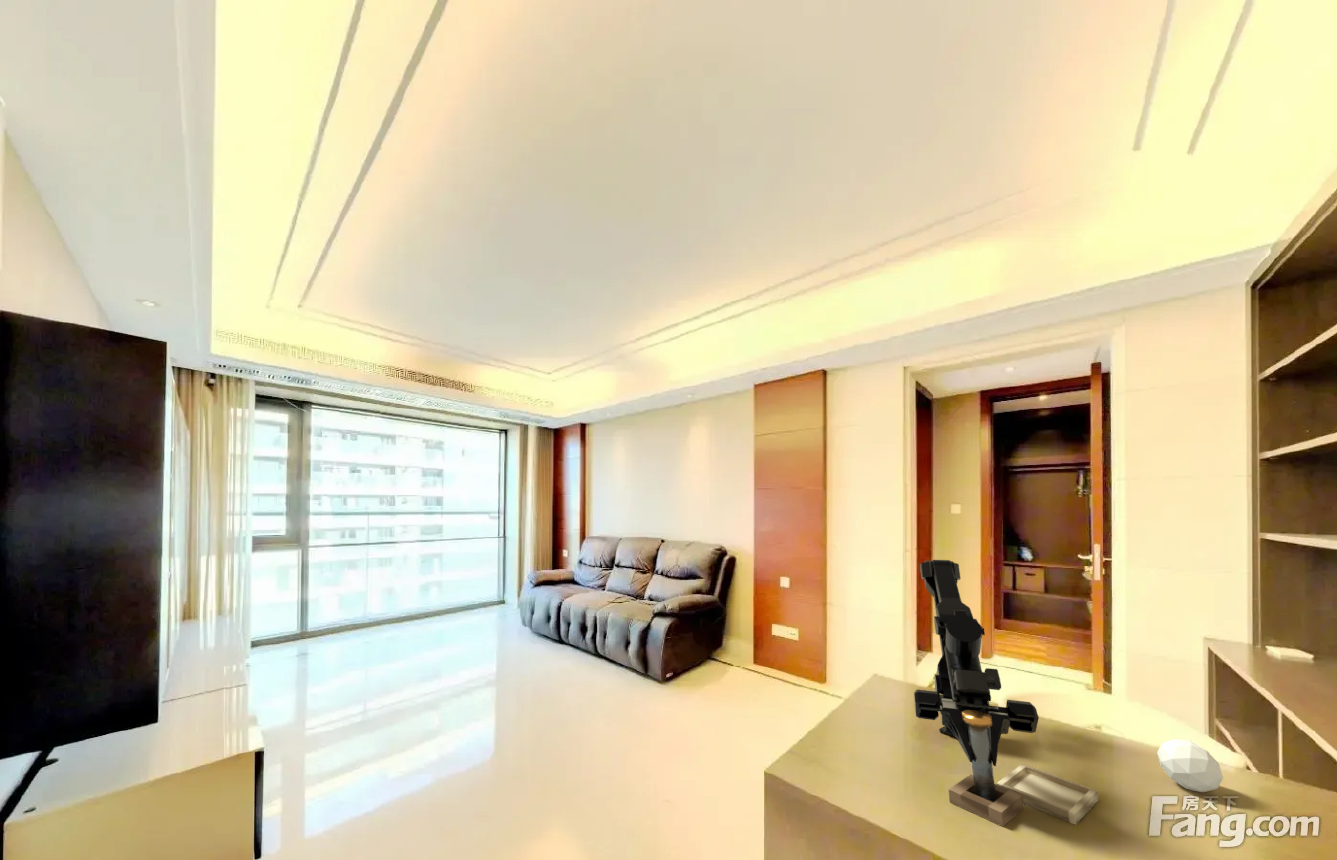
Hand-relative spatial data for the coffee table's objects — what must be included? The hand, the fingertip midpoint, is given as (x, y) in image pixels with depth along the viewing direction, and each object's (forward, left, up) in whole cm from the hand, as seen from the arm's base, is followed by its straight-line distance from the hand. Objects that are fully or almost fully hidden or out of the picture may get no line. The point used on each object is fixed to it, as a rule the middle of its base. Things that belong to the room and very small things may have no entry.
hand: (982, 763), depth 82 cm
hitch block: (-1, -1, -7) cm, 7 cm away
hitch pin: (-1, -1, -7) cm, 7 cm away
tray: (-12, +4, -7) cm, 15 cm away
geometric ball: (-35, +18, -7) cm, 40 cm away
